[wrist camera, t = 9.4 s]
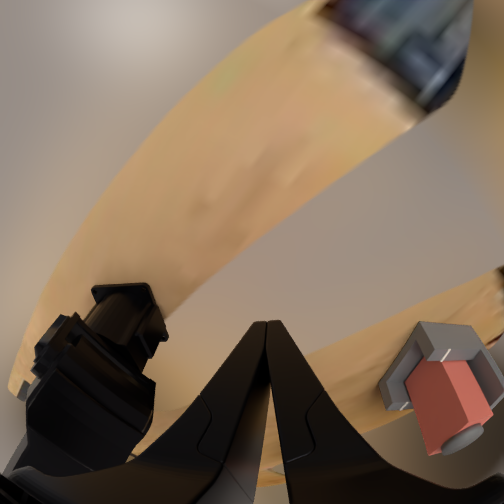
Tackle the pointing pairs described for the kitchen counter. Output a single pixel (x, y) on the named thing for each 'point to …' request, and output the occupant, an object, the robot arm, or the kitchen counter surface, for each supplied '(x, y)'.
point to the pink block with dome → (447, 404)
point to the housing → (441, 349)
